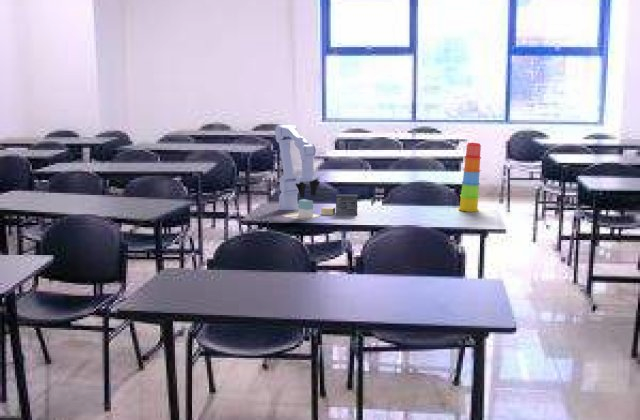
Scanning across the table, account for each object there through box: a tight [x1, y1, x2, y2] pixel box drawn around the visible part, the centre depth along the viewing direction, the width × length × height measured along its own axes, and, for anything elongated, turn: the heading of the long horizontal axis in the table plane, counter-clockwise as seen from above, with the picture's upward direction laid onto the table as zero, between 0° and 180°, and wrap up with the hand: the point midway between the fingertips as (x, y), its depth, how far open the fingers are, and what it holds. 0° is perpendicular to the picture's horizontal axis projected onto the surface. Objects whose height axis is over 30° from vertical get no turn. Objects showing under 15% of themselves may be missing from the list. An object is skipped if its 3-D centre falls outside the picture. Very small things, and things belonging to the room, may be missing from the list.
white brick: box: [297, 207, 314, 218], centre depth 359 cm, size 6×4×4 cm, turn 46°
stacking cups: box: [458, 142, 482, 213], centre depth 374 cm, size 10×10×35 cm
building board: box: [280, 211, 323, 221], centre depth 362 cm, size 16×14×1 cm
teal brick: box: [298, 198, 314, 210], centre depth 358 cm, size 6×4×4 cm, turn 46°
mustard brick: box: [320, 206, 336, 216], centre depth 365 cm, size 6×4×4 cm, turn 71°
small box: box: [335, 193, 358, 217], centre depth 364 cm, size 11×6×10 cm, turn 84°
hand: (307, 196), depth 361 cm, fingers open, 7 cm apart
